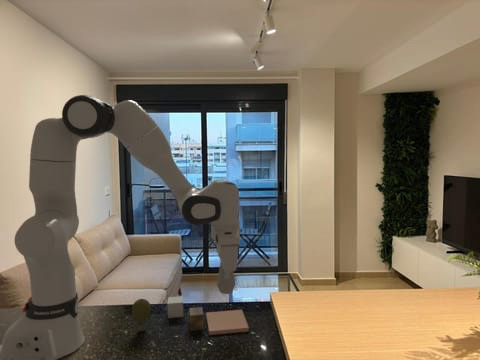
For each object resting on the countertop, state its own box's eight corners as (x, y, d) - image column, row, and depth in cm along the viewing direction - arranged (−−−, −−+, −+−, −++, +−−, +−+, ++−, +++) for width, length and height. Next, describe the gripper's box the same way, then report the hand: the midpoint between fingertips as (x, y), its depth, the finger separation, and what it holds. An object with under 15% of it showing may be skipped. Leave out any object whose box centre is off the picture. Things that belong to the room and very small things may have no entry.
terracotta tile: (209, 335, 107) (209, 331, 107) (206, 316, 119) (206, 312, 119) (248, 331, 109) (248, 327, 109) (241, 313, 121) (241, 309, 121)
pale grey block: (167, 318, 118) (167, 303, 118) (168, 311, 123) (167, 297, 123) (183, 316, 119) (182, 302, 118) (183, 310, 124) (182, 296, 123)
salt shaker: (233, 295, 110) (232, 254, 108) (215, 294, 111) (214, 253, 110) (237, 288, 115) (236, 248, 114) (220, 287, 117) (219, 247, 115)
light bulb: (155, 330, 110) (154, 299, 109) (139, 337, 106) (137, 305, 105) (145, 324, 114) (144, 294, 113) (129, 331, 110) (127, 299, 109)
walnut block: (190, 331, 110) (189, 315, 109) (189, 323, 115) (189, 308, 114) (203, 329, 111) (203, 314, 110) (202, 322, 116) (202, 307, 115)
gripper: (212, 225, 121) (212, 265, 122) (218, 241, 101) (219, 289, 102) (230, 224, 122) (231, 263, 123) (241, 240, 102) (241, 287, 103)
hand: (226, 275), depth 113 cm, fingers closed on salt shaker, 3 cm apart
